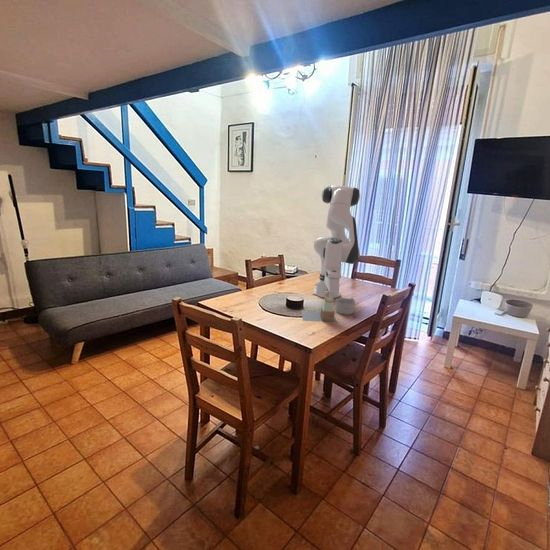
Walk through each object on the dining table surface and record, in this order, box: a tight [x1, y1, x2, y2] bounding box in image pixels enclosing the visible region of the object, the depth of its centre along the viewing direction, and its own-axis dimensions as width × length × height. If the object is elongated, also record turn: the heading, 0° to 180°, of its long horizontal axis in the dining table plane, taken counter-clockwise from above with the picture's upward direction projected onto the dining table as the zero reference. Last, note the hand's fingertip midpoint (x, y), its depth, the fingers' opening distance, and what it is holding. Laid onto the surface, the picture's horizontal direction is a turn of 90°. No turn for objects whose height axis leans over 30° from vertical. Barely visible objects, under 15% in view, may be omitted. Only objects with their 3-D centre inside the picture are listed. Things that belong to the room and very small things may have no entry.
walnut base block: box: [320, 307, 335, 321], centre depth 173 cm, size 6×6×5 cm
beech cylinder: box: [324, 291, 334, 302], centre depth 171 cm, size 4×4×5 cm
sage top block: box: [321, 298, 335, 312], centre depth 172 cm, size 5×5×5 cm
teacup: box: [335, 297, 356, 316], centre depth 186 cm, size 14×11×8 cm
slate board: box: [300, 310, 338, 323], centre depth 177 cm, size 14×18×1 cm
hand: (329, 296), depth 171 cm, fingers open, 8 cm apart
